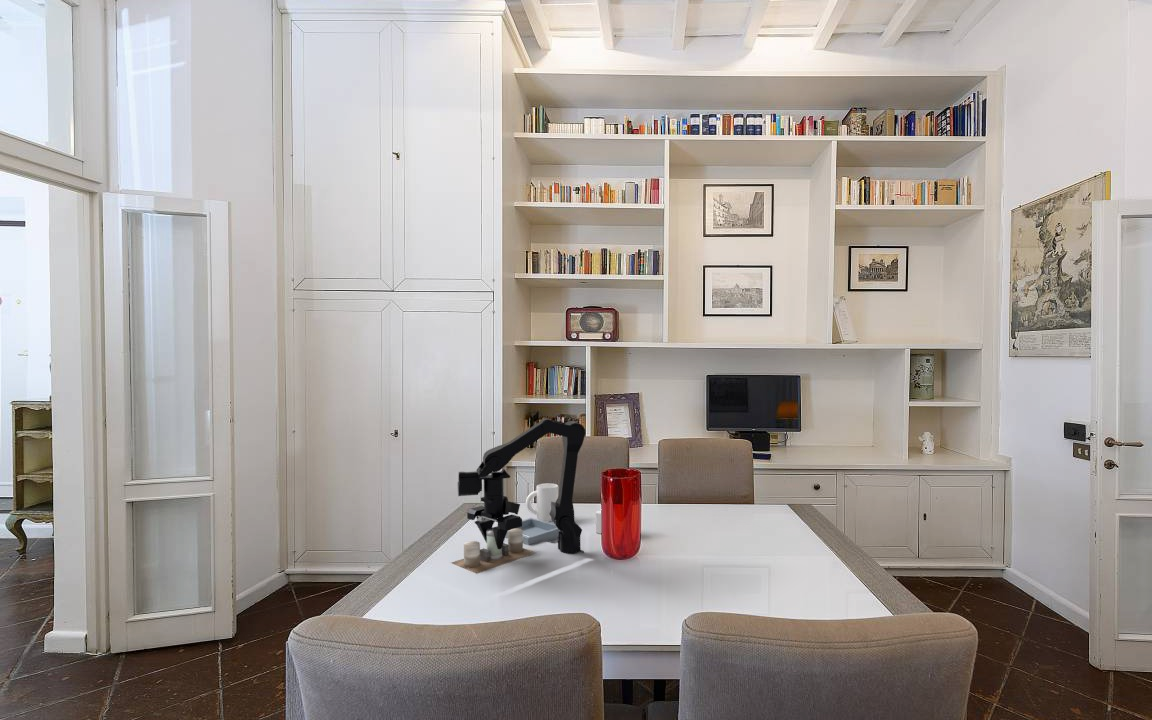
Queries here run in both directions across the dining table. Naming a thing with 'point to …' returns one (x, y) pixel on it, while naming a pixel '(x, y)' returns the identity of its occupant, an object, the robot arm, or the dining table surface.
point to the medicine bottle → (598, 520)
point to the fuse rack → (480, 558)
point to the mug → (543, 500)
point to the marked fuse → (493, 546)
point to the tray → (537, 531)
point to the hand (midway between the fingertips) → (494, 547)
